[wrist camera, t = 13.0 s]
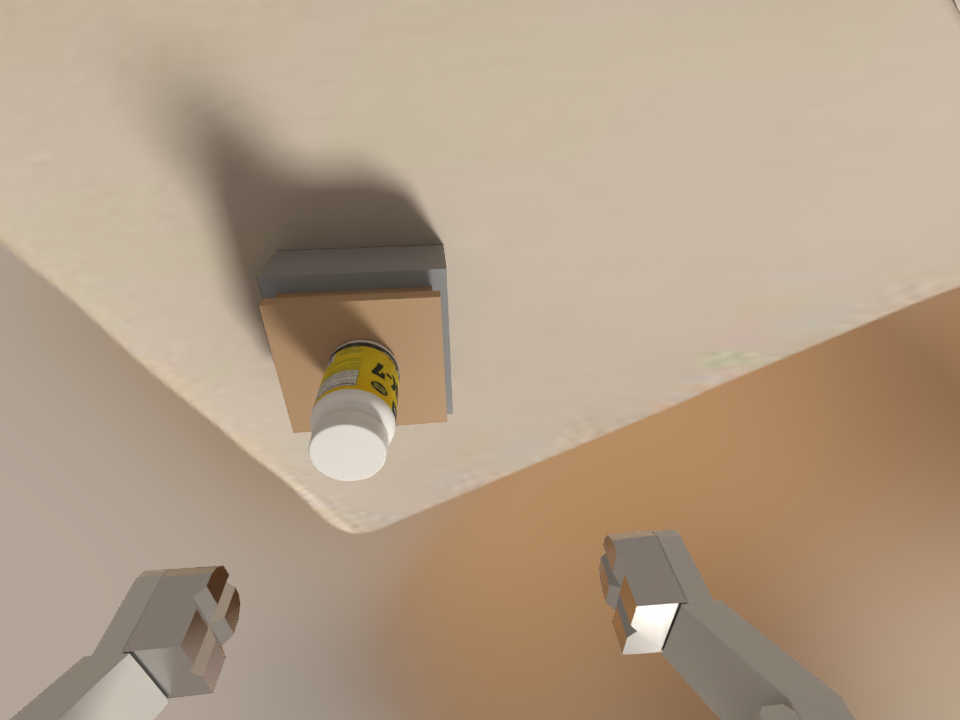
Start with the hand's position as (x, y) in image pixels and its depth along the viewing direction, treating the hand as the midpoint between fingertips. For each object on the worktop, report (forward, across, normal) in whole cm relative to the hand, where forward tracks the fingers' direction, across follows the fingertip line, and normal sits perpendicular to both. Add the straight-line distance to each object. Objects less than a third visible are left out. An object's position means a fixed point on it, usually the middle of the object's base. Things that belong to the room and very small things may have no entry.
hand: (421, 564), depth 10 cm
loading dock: (+28, +5, +9) cm, 30 cm away
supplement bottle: (+21, +5, +8) cm, 23 cm away
